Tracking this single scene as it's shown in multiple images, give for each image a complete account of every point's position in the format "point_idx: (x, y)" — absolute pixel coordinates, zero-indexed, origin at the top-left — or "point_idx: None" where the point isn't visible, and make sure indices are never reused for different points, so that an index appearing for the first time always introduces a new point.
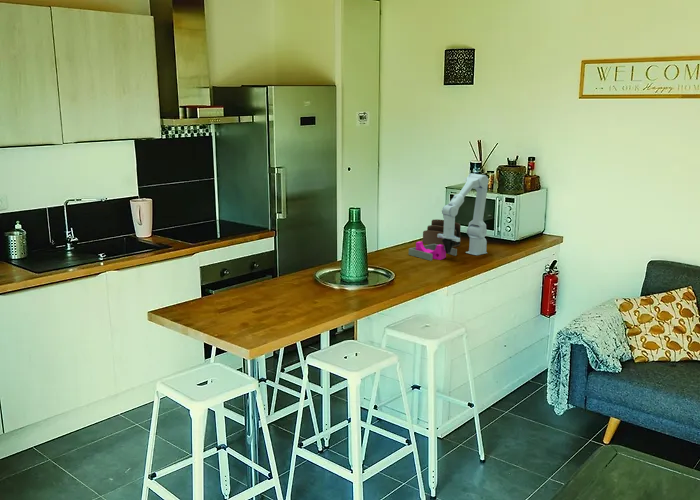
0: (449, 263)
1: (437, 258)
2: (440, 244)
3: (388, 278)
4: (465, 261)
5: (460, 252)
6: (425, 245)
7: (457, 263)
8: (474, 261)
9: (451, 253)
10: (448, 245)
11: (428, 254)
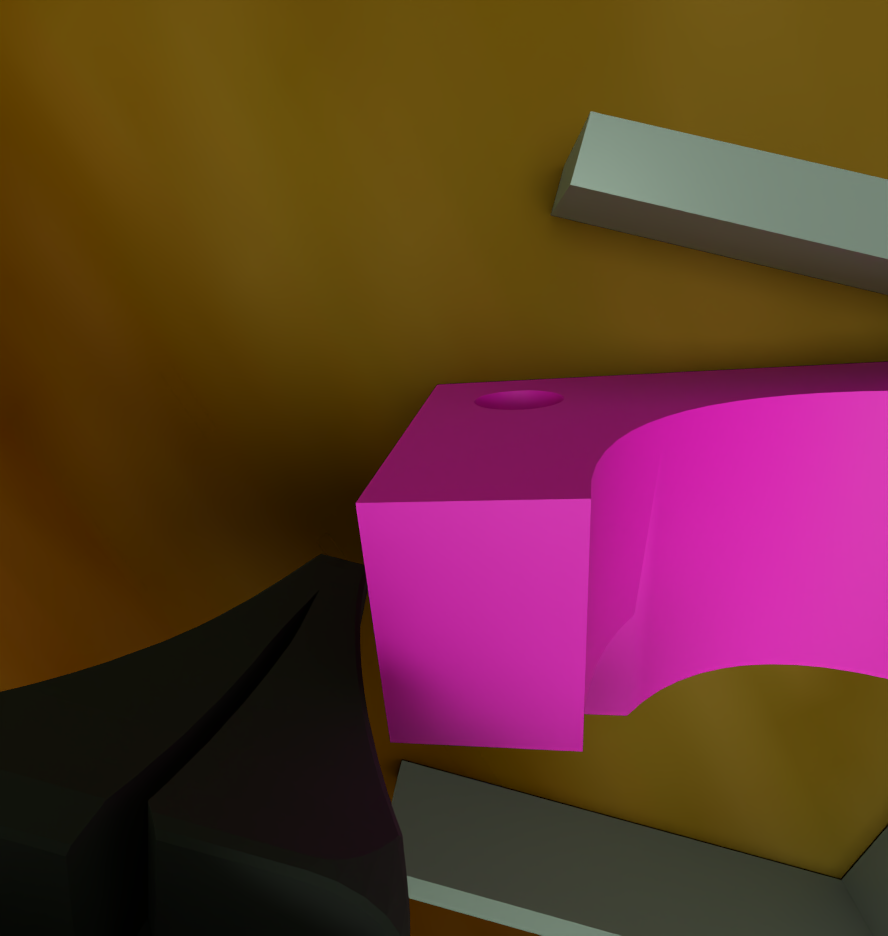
0: (149, 245)
1: (506, 384)
2: (537, 734)
3: None
4: (86, 553)
5: (449, 914)
6: None
7: (63, 352)
8: (15, 622)
9: (480, 799)
10: (123, 661)
11: (711, 146)
